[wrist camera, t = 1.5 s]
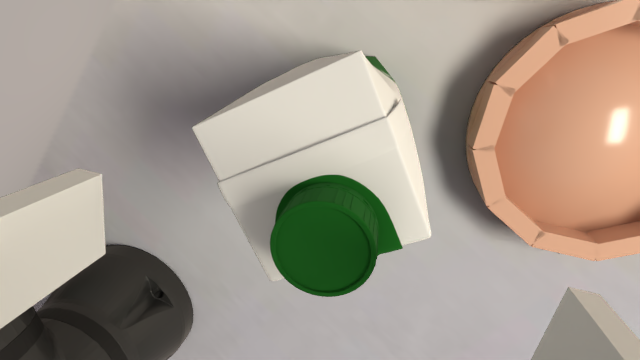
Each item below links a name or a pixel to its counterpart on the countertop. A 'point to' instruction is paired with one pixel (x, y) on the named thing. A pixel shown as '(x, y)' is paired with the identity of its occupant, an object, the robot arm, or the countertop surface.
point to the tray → (565, 134)
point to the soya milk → (320, 172)
